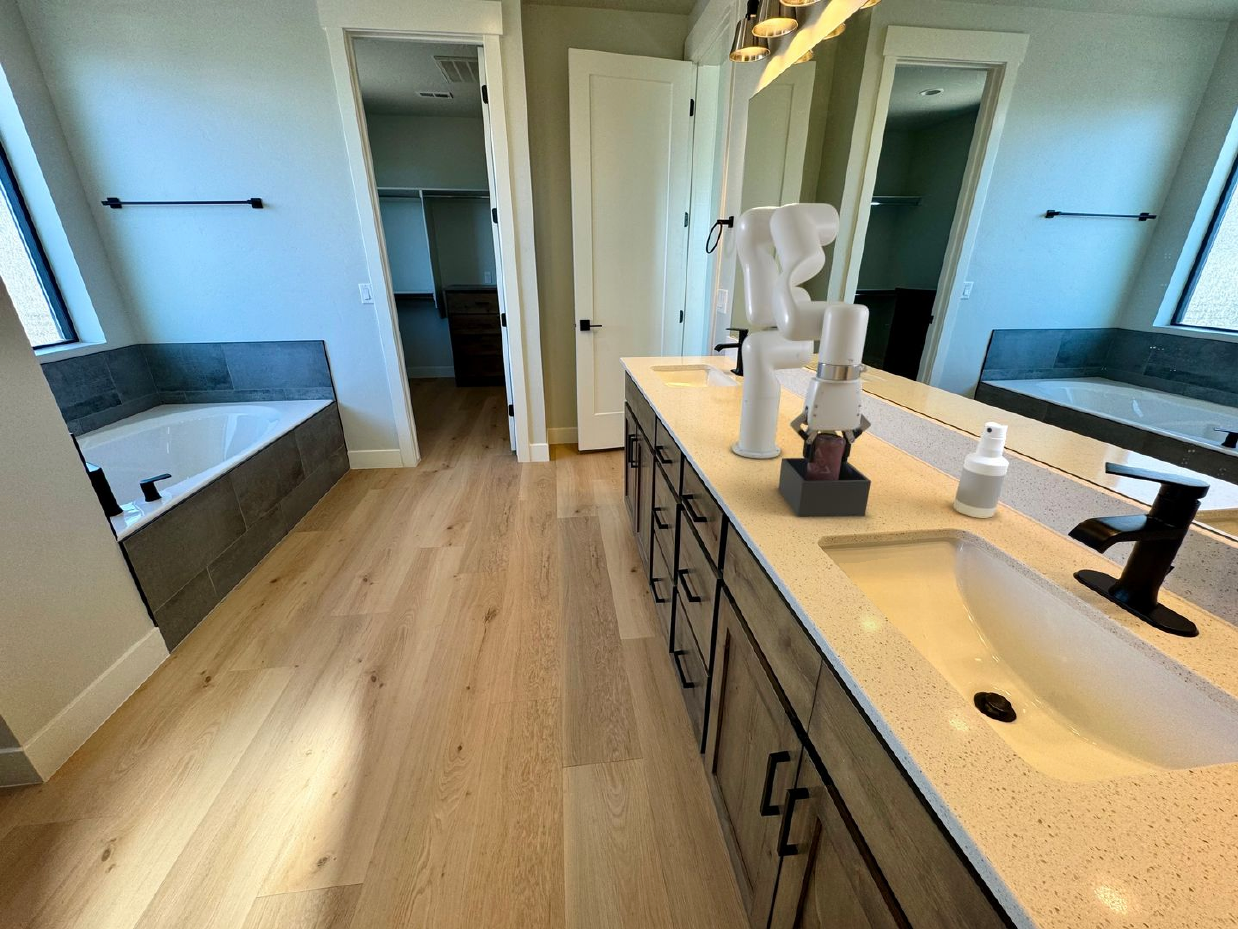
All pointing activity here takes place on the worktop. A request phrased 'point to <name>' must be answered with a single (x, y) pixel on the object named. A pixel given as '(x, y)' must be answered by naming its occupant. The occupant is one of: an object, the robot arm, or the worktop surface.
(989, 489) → the spray bottle
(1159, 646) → the worktop surface
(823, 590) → the worktop surface
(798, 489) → the bin
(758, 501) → the worktop surface
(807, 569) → the worktop surface
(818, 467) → the can
